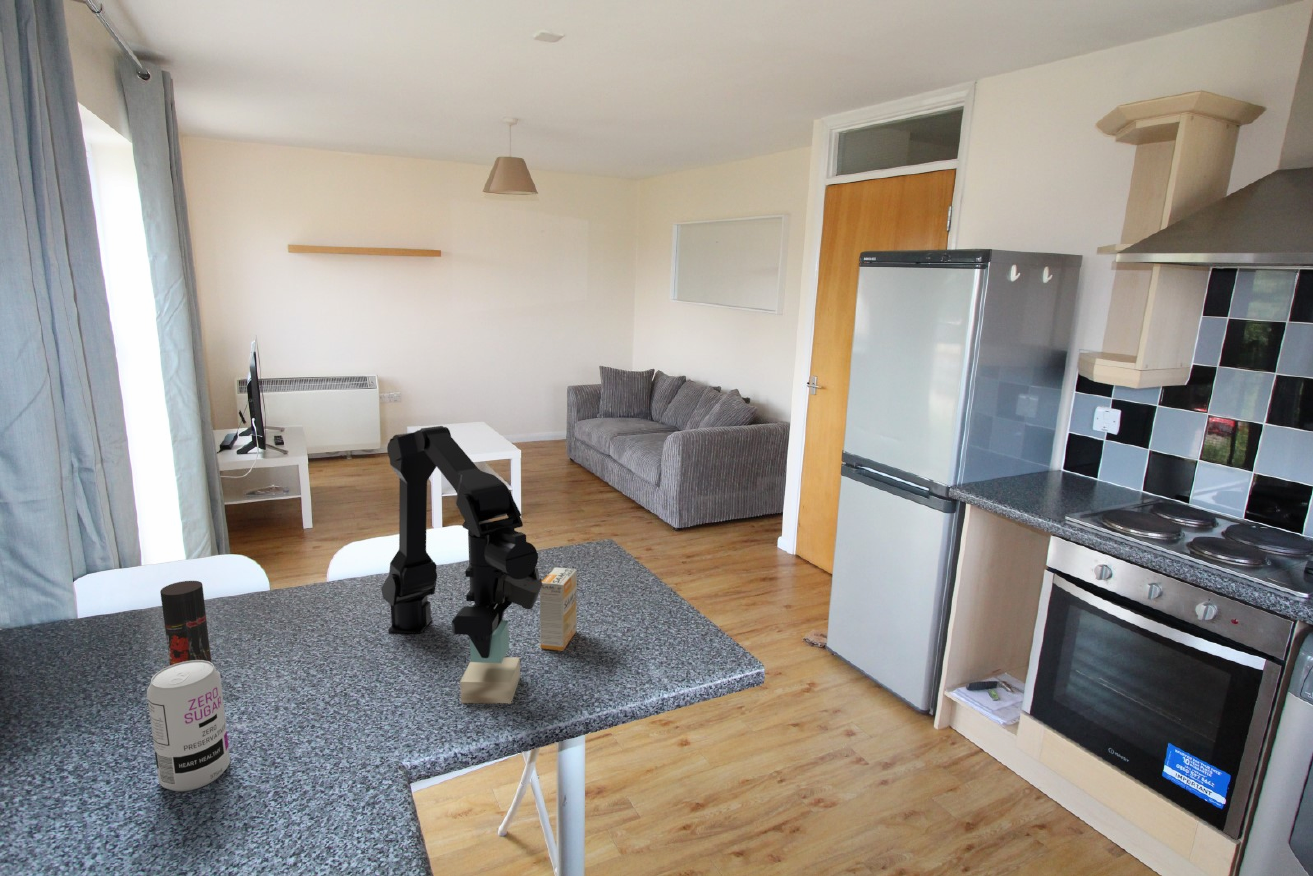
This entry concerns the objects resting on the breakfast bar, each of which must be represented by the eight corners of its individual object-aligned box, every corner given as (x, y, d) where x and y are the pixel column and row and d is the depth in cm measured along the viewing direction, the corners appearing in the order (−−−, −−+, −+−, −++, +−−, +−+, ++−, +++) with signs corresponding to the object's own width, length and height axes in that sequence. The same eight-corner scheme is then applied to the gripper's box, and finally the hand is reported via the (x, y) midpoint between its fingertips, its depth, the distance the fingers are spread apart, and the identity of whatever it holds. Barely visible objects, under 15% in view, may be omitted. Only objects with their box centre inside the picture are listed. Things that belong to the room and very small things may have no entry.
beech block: (461, 704, 116) (460, 681, 115) (473, 678, 124) (472, 656, 123) (510, 705, 116) (510, 682, 115) (520, 678, 124) (519, 657, 123)
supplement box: (564, 652, 133) (563, 585, 130) (539, 649, 134) (538, 582, 131) (578, 631, 141) (577, 568, 138) (554, 629, 141) (553, 566, 139)
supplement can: (180, 756, 102) (167, 658, 99) (241, 754, 102) (231, 657, 99) (145, 795, 94) (130, 691, 91) (212, 793, 94) (199, 689, 91)
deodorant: (219, 665, 126) (210, 584, 123) (185, 681, 121) (174, 597, 117) (197, 657, 128) (187, 578, 125) (163, 673, 123) (152, 590, 120)
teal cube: (470, 662, 116) (469, 633, 115) (479, 646, 121) (478, 619, 120) (501, 663, 116) (500, 634, 115) (509, 648, 121) (508, 620, 120)
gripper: (523, 585, 106) (525, 682, 109) (548, 541, 124) (549, 625, 127) (448, 582, 106) (452, 678, 109) (485, 539, 124) (487, 622, 128)
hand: (489, 649), depth 118 cm, fingers closed on teal cube, 5 cm apart
